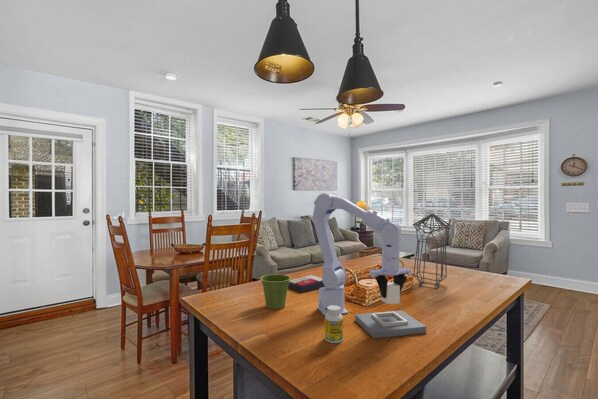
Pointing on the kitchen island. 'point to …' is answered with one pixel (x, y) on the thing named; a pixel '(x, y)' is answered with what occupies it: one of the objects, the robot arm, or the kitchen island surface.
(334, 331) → the supplement bottle
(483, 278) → the kitchen island surface
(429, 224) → the geometric lantern
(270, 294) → the plant pot
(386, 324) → the display plinth
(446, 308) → the kitchen island surface
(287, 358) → the kitchen island surface
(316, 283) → the dark product box
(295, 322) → the kitchen island surface
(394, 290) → the cream block
